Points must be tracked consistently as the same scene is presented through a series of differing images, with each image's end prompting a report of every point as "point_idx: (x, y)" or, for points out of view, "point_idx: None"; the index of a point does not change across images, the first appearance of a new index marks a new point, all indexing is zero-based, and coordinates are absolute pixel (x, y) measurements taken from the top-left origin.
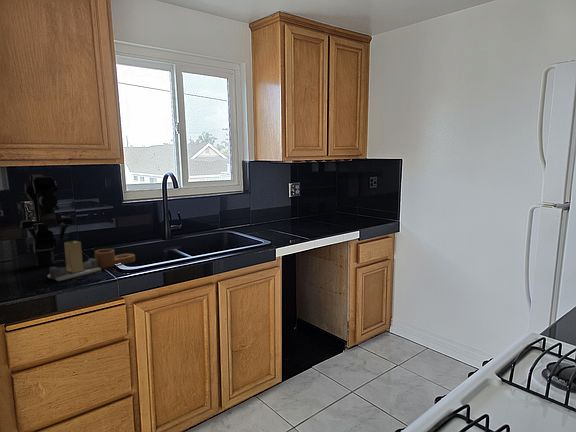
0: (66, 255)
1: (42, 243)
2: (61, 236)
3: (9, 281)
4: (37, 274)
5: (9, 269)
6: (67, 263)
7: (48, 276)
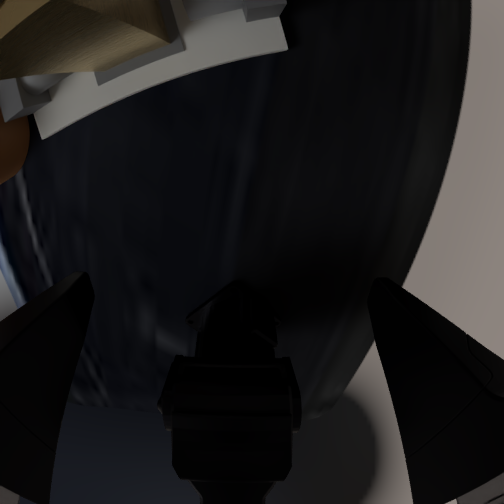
0: (125, 4)
1: (255, 394)
2: (49, 302)
3: (441, 129)
4: (316, 157)
5: (369, 324)
6: (148, 14)
7: (283, 39)
